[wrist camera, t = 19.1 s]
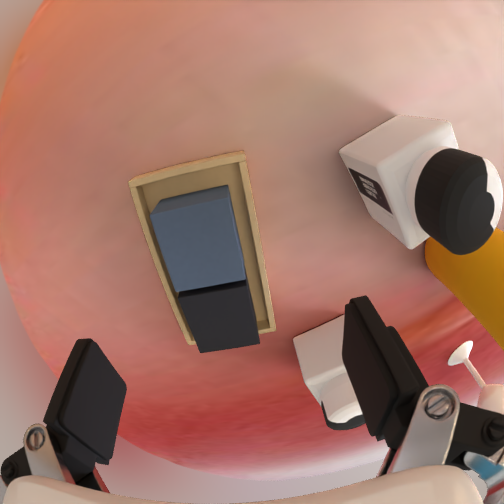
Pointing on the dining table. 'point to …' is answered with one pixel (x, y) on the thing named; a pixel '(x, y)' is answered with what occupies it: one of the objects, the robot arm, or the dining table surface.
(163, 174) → the wooden tray
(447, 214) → the container
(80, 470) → the robot arm
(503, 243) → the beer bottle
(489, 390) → the champagne flute
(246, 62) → the dining table surface
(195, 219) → the blue block
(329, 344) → the medicine bottle
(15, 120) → the dining table surface
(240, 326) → the pad
